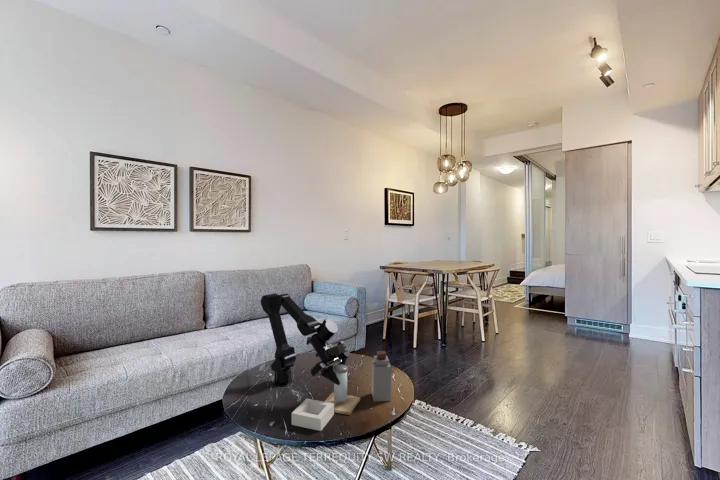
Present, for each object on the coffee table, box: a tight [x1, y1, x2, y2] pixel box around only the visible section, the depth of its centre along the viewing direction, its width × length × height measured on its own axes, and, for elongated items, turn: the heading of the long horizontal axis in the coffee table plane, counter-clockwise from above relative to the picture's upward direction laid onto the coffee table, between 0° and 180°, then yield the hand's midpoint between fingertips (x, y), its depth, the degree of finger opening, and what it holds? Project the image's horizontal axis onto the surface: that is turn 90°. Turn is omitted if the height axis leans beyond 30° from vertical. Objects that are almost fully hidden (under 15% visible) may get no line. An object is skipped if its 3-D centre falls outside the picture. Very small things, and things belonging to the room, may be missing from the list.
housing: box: [291, 398, 335, 432], centre depth 120 cm, size 11×11×4 cm
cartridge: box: [333, 364, 349, 401], centre depth 131 cm, size 5×5×12 cm
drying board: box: [323, 391, 361, 416], centre depth 131 cm, size 12×12×1 cm
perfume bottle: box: [371, 350, 392, 403], centre depth 137 cm, size 7×7×18 cm
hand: (343, 382), depth 130 cm, fingers closed on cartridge, 5 cm apart
